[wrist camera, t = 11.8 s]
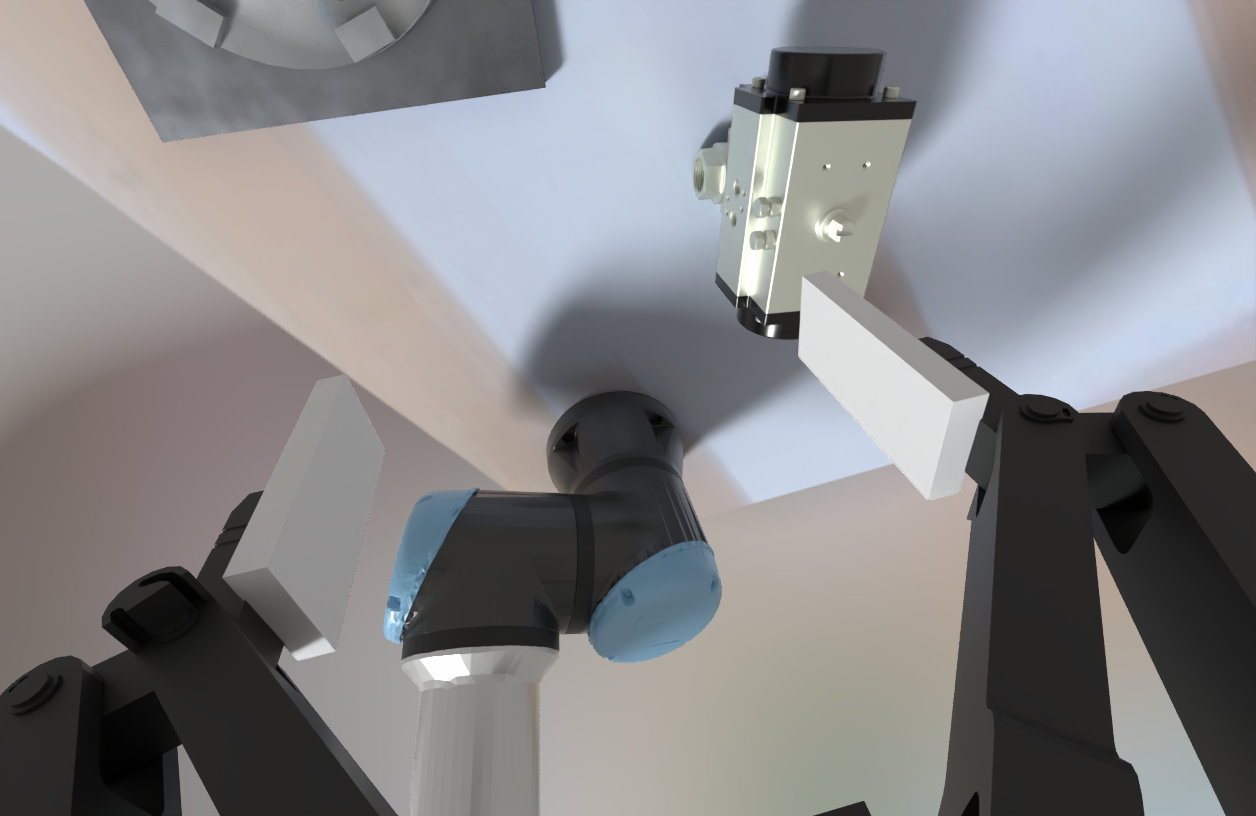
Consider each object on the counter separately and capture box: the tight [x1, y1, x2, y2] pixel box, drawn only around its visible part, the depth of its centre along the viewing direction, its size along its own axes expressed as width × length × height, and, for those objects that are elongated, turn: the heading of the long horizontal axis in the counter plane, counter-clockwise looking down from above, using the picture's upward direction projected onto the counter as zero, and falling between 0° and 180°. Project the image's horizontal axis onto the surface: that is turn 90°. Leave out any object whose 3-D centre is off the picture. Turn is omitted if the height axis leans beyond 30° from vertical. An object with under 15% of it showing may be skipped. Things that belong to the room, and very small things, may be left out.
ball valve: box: [693, 47, 917, 340], centre depth 41 cm, size 18×8×18 cm, turn 0°
